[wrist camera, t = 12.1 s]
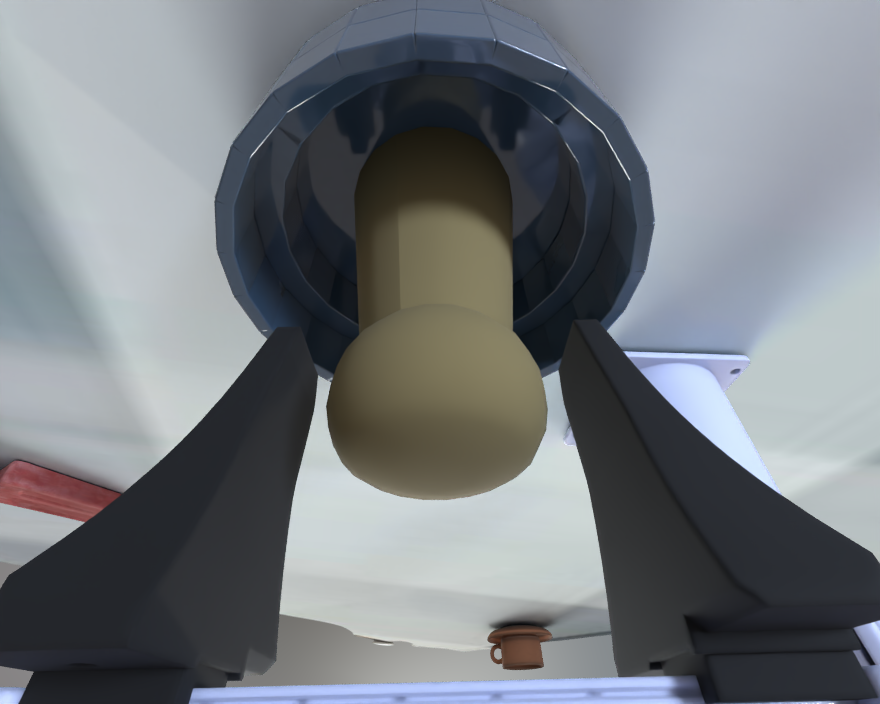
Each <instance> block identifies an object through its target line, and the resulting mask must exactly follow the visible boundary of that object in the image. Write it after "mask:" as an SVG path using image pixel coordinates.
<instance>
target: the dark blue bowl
mask: <svg viewBox="0 0 880 704" xmlns="http://www.w3.org/2000/svg"><path fill="white" fill-rule="evenodd" d="M420 127H443V128H453V129H455V130H458V131H460V132H463V133H465V134H468V135H470V136H473V137H476V138H477V139H479V140H480V141H481V142H482V143H483V144H484V145H485V146H487V147H488V148H489V149H490V150H491V151H492V152H494V153H495V154H496V155H497V157H498V158H499V160H500V162H501V164H502V166H503V167H504V169H505V171H506V173H507V175H508V176H509V181H510V187H511V194H512V200H513V332H514V333H516V335H517V336H518V337H519V339H520V340H521V341H522V343H523V344H524V345H525V347H526V348H527V349H528V351H529V352H530V354H531V355H532V357H533V359H534V360H535V362H536V364H537V366H538V367H539V369H540V373H541V377H542V378H543V377H545V376H547V375H549V374H551V373H553V372H555V371H558V370H559V367H560V363H561V360H562V357H563V353H564V350H565V346H566V343H567V340H568V336H569V333H570V330H571V326H572V323H573V320H587V319H597V320H598V321H599V323H600V324H601V325H602V326H603V327H604V329H605V330H606V331H607V330H608V329H609V328H610V327H611V326H612V324H613V323H614V322H615V321H616V320H617V319H618V318H619V317H620V315H621V314H622V313H623V312H624V310H625V309H626V307H627V305H628V303H629V301H630V300H631V298H632V296H633V294H634V292H635V290H636V288H637V286H638V284H639V282H640V280H641V278H642V276H643V275H644V273H645V270H646V266H647V261H648V256H649V251H650V245H651V240H652V235H653V230H654V225H655V223H654V222H655V217H654V210H653V202H652V195H651V187H650V180H649V172H648V170H647V166H646V164H645V162H644V160H643V158H642V156H641V155H640V153H639V151H638V149H637V147H636V145H635V143H634V141H633V139H632V137H631V135H630V133H629V132H628V130H627V128H626V126H625V124H624V122H623V120H622V118H621V117H620V115H619V114H618V113H617V111H616V110H615V109H614V108H613V106H612V105H611V104H610V102H609V101H608V100H607V98H606V97H605V96H604V95H603V93H602V92H601V91H600V89H599V88H598V87H597V86H596V84H595V83H594V82H593V80H592V79H591V78H590V77H589V75H588V74H587V73H586V71H585V70H584V69H583V67H582V66H581V65H580V64H579V62H578V61H577V60H576V59H575V58H574V57H573V56H572V55H571V54H570V53H569V52H568V51H567V50H566V49H565V48H564V47H563V46H562V45H560V44H559V43H558V42H557V41H556V40H555V39H554V38H553V37H552V36H551V35H550V34H549V33H548V32H547V31H545V30H544V29H543V28H542V27H541V26H540V25H539V24H538V23H535V22H534V21H533V20H532V19H529V18H527V17H525V16H523V15H520V14H518V13H516V12H514V11H511V10H509V9H507V8H505V7H502V6H500V5H498V4H496V3H493V2H491V1H489V0H381V1H377V2H373V3H369V4H366V5H362V6H359V7H358V9H353V10H352V11H350V12H349V13H347V14H346V15H344V16H343V17H341V18H340V19H338V20H337V21H335V22H334V23H332V24H331V25H329V26H328V27H326V28H325V29H323V30H322V31H320V32H319V33H317V34H316V35H314V36H313V37H311V38H310V39H309V41H306V42H305V44H304V45H303V46H302V48H301V49H300V50H299V52H298V53H297V54H296V56H295V57H294V58H293V59H292V61H291V62H290V63H289V65H288V66H287V67H286V69H285V70H284V71H283V73H282V74H281V75H280V76H279V78H278V79H277V80H276V82H275V83H274V84H273V86H272V87H271V89H270V90H269V92H268V93H267V94H266V96H265V97H264V99H263V100H262V101H261V103H260V104H259V106H258V107H257V109H256V110H255V111H254V113H253V114H252V116H251V117H250V119H249V120H248V121H247V123H246V124H245V126H244V127H243V128H242V130H241V131H240V133H239V134H238V136H237V137H236V138H235V140H234V141H233V144H232V145H231V147H230V150H229V154H228V157H227V160H226V163H225V166H224V170H223V173H222V176H221V179H220V183H219V186H218V189H217V192H216V195H215V201H214V203H215V225H216V248H217V253H218V256H219V258H220V261H221V264H222V266H223V269H224V272H225V274H226V277H227V280H228V282H229V285H230V288H231V291H232V293H233V295H234V297H235V299H236V300H237V301H238V303H239V304H240V306H241V307H242V308H243V310H244V311H245V312H246V314H247V315H248V317H249V318H250V319H251V321H252V322H253V324H254V325H255V326H256V328H257V329H258V330H259V331H260V332H261V334H262V335H264V336H265V337H266V338H267V339H268V338H269V337H270V335H271V334H272V333H273V331H274V330H275V329H276V328H277V327H299V326H300V327H301V329H302V332H303V335H304V338H305V341H306V343H307V346H308V349H309V352H310V355H311V357H312V360H313V363H314V366H315V368H316V371H317V374H318V375H319V376H321V377H322V378H324V379H326V380H328V381H330V382H332V380H333V377H334V373H335V370H336V367H337V365H338V363H339V361H340V359H341V357H342V356H343V354H344V352H345V350H346V348H347V347H348V346H349V345H350V344H351V343H352V342H353V341H354V340H355V339H356V338H357V336H358V335H359V317H358V289H357V260H356V231H355V203H354V193H355V189H356V185H357V181H358V177H359V173H360V170H361V169H362V168H363V166H364V165H365V163H366V162H367V160H368V159H369V157H370V156H371V154H372V153H373V151H374V150H375V149H377V148H378V147H379V146H381V145H382V144H384V143H385V142H386V141H388V140H389V139H391V138H392V137H393V136H395V135H396V134H400V133H403V132H406V131H410V130H413V129H417V128H420Z"/></svg>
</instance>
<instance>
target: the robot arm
mask: <svg viewBox="0 0 880 704" xmlns="http://www.w3.org/2000/svg"><path fill="white" fill-rule="evenodd" d="M749 364H750V361H749V359H748V358H747V357H746V356H744V355H721V354H689V353H658V352H627V351H623V350H622V349H621V348H620V347H619V346H618V344H617V343H616V342H615V341H614V340H613V338H612V337H611V336H610V335H609V333H608V332H607V331H606V330H605V329H604V327H603V326H602V325H601V324H600V323H599V321H598V320H597V319H587V320H573V323H572V326H571V330H570V333H569V336H568V340H567V343H566V346H565V350H564V353H563V357H562V360H561V363H560V367H559V375H560V382H561V388H562V394H563V400H564V405H565V408H566V412H567V415H568V419H569V422H570V427H569V429H568V431H567V433H566V435H565V436H564V443H565V444H566V445H570V446H577V449H578V452H579V456H580V459H581V463H582V466H583V469H584V473H585V476H586V480H587V484H588V488H589V492H590V497H591V502H592V508H593V513H594V518H595V524H596V529H597V535H598V541H599V547H600V553H601V559H602V566H603V573H604V580H605V587H606V593H607V601H608V609H609V617H610V626H611V634H612V642H613V653H614V660H615V664H616V668H617V672H618V677H617V678H580V679H579V678H577V679H544V680H543V679H538V680H500V681H461V682H423V683H383V684H344V685H305V686H266V687H228V688H225V686H226V683H227V681H242V679H243V677H244V675H263V674H264V673H265V672H266V671H267V670H268V669H269V668H270V667H271V666H272V665H273V664H274V663H275V661H276V653H277V638H278V624H279V611H280V600H281V589H282V579H283V569H284V561H285V552H286V544H287V536H288V528H289V521H290V514H291V507H292V500H293V495H294V490H295V485H296V481H297V477H298V473H299V469H300V465H301V461H302V457H303V453H304V449H305V445H306V441H307V437H308V433H309V429H310V425H311V421H312V416H313V412H314V406H315V399H316V390H317V380H318V374H317V371H316V368H315V366H314V363H313V360H312V357H311V355H310V352H309V349H308V346H307V343H306V341H305V338H304V335H303V332H302V329H301V327H300V326H299V327H277V328H276V329H275V330H274V331H273V333H272V334H271V335H270V337H269V338H268V339H267V341H266V342H265V343H264V345H263V346H262V347H261V349H260V350H259V351H258V353H257V354H256V355H255V357H254V358H253V359H252V360H251V362H250V363H249V364H248V366H247V367H246V368H245V370H244V371H243V372H242V373H241V374H240V376H239V377H238V378H237V379H236V381H235V382H234V383H233V384H232V386H231V387H230V388H229V389H228V391H227V392H226V393H225V394H224V395H223V397H222V398H221V399H220V400H219V401H218V402H217V403H216V404H215V406H214V407H213V408H212V409H211V410H210V411H209V412H208V413H207V415H206V416H205V417H204V418H203V419H202V420H201V421H200V422H199V423H198V424H197V426H196V427H195V428H194V429H193V430H192V431H191V432H190V433H189V434H188V435H187V436H186V437H185V438H184V439H183V440H182V441H181V442H180V443H179V444H178V445H177V446H176V447H175V448H174V449H173V450H172V451H171V452H170V453H168V454H167V455H166V456H165V457H164V458H163V459H162V460H161V461H160V462H159V463H158V464H156V465H155V466H154V467H153V468H152V469H151V470H150V471H149V472H147V473H146V474H145V475H144V476H143V477H142V478H140V479H139V480H138V481H137V482H136V483H135V484H133V485H132V486H131V487H130V488H129V489H128V490H126V491H125V492H124V493H123V494H122V495H120V496H119V497H118V498H116V499H115V500H114V501H113V502H111V503H110V504H109V505H107V506H106V507H105V508H104V509H102V510H101V511H100V512H99V513H97V514H96V515H95V516H93V517H92V518H91V519H89V520H88V521H87V522H85V523H84V524H83V525H81V526H80V527H79V528H77V529H76V530H74V531H73V532H72V533H70V534H69V535H67V536H66V537H65V538H63V539H62V540H60V541H59V542H57V543H56V544H54V545H53V546H51V547H50V548H49V549H47V550H46V551H44V552H43V553H41V554H40V555H38V556H37V557H35V558H34V559H32V560H31V561H30V562H28V563H27V564H25V565H24V566H22V567H21V568H19V569H18V570H16V571H15V572H13V573H12V574H10V575H9V576H8V577H7V579H6V580H5V582H4V584H3V585H2V587H1V589H0V666H4V667H10V668H16V669H22V670H27V671H33V672H34V673H33V675H32V677H31V679H30V681H29V683H28V685H27V687H26V688H18V687H0V704H880V563H879V562H878V560H877V559H876V558H875V556H874V555H873V553H872V552H870V551H868V550H867V549H865V548H863V547H862V546H860V545H859V544H857V543H855V542H854V541H852V540H850V539H849V538H847V537H846V536H844V535H842V534H841V533H839V532H837V531H836V530H834V529H833V528H831V527H829V526H828V525H826V524H824V523H823V522H821V521H820V520H818V519H816V518H815V517H813V516H812V515H810V514H809V513H807V512H806V511H804V510H803V509H801V508H800V507H798V506H797V505H795V504H794V503H792V502H791V501H789V500H788V499H786V498H785V497H783V496H782V495H781V493H780V491H779V489H778V488H777V486H776V484H775V482H774V480H773V479H772V477H771V475H770V473H769V472H768V470H767V468H766V466H765V464H764V463H763V461H762V459H761V457H760V456H759V454H758V452H757V450H756V449H755V447H754V445H753V443H752V441H751V440H750V438H749V436H748V434H747V433H746V431H745V429H744V427H743V425H742V424H741V422H740V420H739V418H738V417H737V415H736V413H735V411H734V410H733V408H732V406H731V404H730V402H729V401H728V399H727V397H726V395H725V394H724V392H725V391H726V390H727V389H728V387H729V386H730V385H731V384H732V383H733V382H734V381H735V380H736V379H737V378H738V377H739V376H740V374H741V373H742V372H743V371H744V370H745V369H746V368H747V367H748V366H749Z"/></svg>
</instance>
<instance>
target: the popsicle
mask: <svg viewBox="0 0 880 704" xmlns="http://www.w3.org/2000/svg"><path fill="white" fill-rule="evenodd" d="M120 495H122V494H120V493H117V492H114V491H111V490H108V489H105V488H102V487H99V486H95V485H92V484H89V483H86V482H83V481H80V480H77V479H74V478H71V477H68V476H65V475H62V474H59V473H56V472H53V471H50V470H48V469H45V468H42V467H39V466H36V465H33V464H30V463H27V462H23V461H18V460H16V461H13V462H12V463H10V464H9V465H7V466H6V467H5V468H3V469H2V470H1V471H0V503H4V504H9V505H13V506H17V507H22V508H26V509H31V510H35V511H40V512H44V513H48V514H53V515H57V516H61V517H66V518H70V519H74V520H79V521H83V522H87V521H88V520H89V519H91V518H92V517H93V516H95V515H96V514H97V513H99V512H100V511H101V510H102V509H104V508H105V507H106V506H107V505H109V504H110V503H111V502H113V501H114V500H115V499H116V498H118V497H119V496H120Z"/></svg>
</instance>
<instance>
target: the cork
mask: <svg viewBox="0 0 880 704" xmlns="http://www.w3.org/2000/svg"><path fill="white" fill-rule="evenodd" d="M354 203H355V231H356V260H357V289H358V317H359V335H358V336H357V338H356V339H355V340H354V341H353V342H352V343H351V344H350V345H349V346H348V347H347V348H346V350H345V352H344V354H343V356H342V357H341V359H340V361H339V363H338V365H337V367H336V370H335V373H334V377H333V380H332V383H331V386H330V391H329V396H328V401H327V405H326V409H327V418H328V428H329V432H330V435H331V439H332V443H333V446H334V448H335V450H336V452H337V454H338V456H339V458H340V460H341V462H342V463H343V464H344V465H345V467H346V468H347V469H348V470H349V471H350V472H351V473H352V474H353V475H354V476H355V477H357V478H359V479H360V480H362V481H364V482H366V483H368V484H370V485H371V486H373V487H375V488H377V489H379V490H381V491H384V492H387V493H391V494H394V495H397V496H400V497H407V498H414V499H422V500H449V499H456V498H464V497H470V496H474V495H477V494H481V493H484V492H488V491H491V490H493V489H495V488H497V487H499V486H501V485H503V484H505V483H507V482H509V481H510V480H512V479H514V478H515V477H517V476H518V475H519V474H520V473H521V472H523V471H524V470H525V469H526V468H527V467H528V466H529V465H530V464H531V463H532V460H533V458H534V456H535V454H536V452H537V450H538V447H539V445H540V443H541V440H542V438H543V436H544V434H545V431H546V424H547V410H548V409H547V402H546V396H545V389H544V385H543V381H542V377H541V373H540V369H539V367H538V366H537V364H536V362H535V360H534V359H533V357H532V355H531V354H530V352H529V351H528V349H527V348H526V347H525V345H524V344H523V343H522V341H521V340H520V339H519V337H518V336H517V335H516V333H514V332H513V200H512V194H511V187H510V181H509V176H508V175H507V173H506V171H505V169H504V167H503V166H502V164H501V162H500V160H499V158H498V157H497V155H496V154H495V153H494V152H492V151H491V150H490V149H489V148H488V147H487V146H485V145H484V144H483V143H482V142H481V141H480V140H479V139H477V138H476V137H473V136H470V135H468V134H465V133H463V132H460V131H458V130H455V129H453V128H443V127H420V128H417V129H413V130H410V131H406V132H403V133H400V134H396V135H395V136H393V137H392V138H391V139H389V140H388V141H386V142H385V143H384V144H382V145H381V146H379V147H378V148H377V149H375V150H374V151H373V153H372V154H371V156H370V157H369V159H368V160H367V162H366V163H365V165H364V166H363V168H362V169H361V170H360V173H359V177H358V181H357V185H356V189H355V193H354Z"/></svg>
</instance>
